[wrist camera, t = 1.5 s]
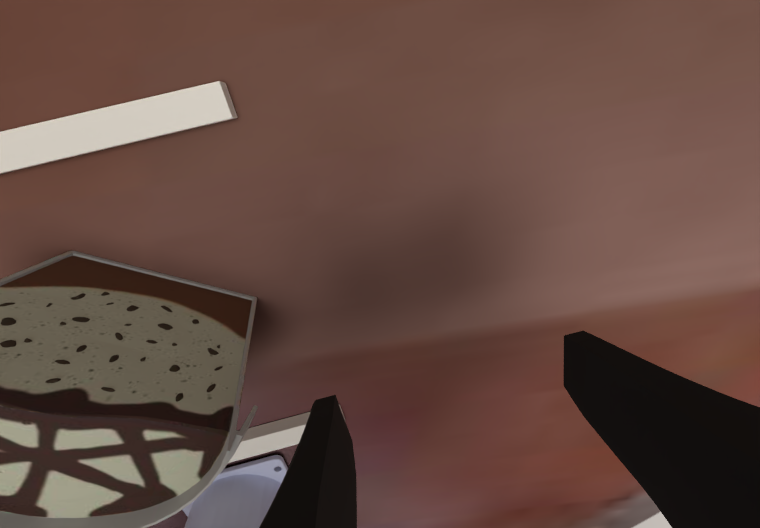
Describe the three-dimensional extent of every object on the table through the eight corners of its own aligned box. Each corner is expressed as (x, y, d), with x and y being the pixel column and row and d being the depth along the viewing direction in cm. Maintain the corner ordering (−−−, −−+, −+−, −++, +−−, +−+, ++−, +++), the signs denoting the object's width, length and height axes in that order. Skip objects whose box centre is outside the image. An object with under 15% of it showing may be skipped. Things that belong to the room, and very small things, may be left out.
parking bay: (345, 419, 25) (345, 430, 24) (-112, 542, 24) (-130, 559, 23) (225, 82, 16) (219, 81, 15) (-509, 254, 15) (-563, 262, 14)
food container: (32, 341, 20) (-229, 539, 10) (37, 241, 18) (-280, 378, 8) (257, 384, 23) (209, 566, 14) (283, 303, 21) (246, 453, 12)
